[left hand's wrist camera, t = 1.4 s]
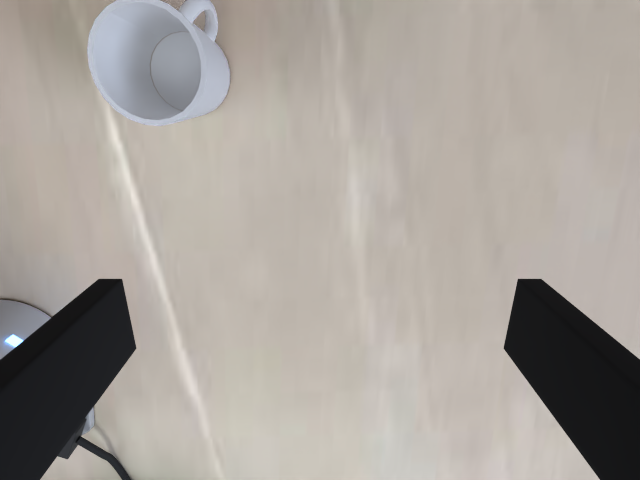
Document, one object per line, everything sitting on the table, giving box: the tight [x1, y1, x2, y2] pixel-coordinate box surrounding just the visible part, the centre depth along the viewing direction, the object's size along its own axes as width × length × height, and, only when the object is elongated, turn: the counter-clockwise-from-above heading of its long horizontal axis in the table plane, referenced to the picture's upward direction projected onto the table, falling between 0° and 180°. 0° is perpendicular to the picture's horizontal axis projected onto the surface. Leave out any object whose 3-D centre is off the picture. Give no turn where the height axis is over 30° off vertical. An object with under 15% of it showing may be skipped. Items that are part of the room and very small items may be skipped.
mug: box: [87, 0, 230, 126], centre depth 33 cm, size 11×9×10 cm
